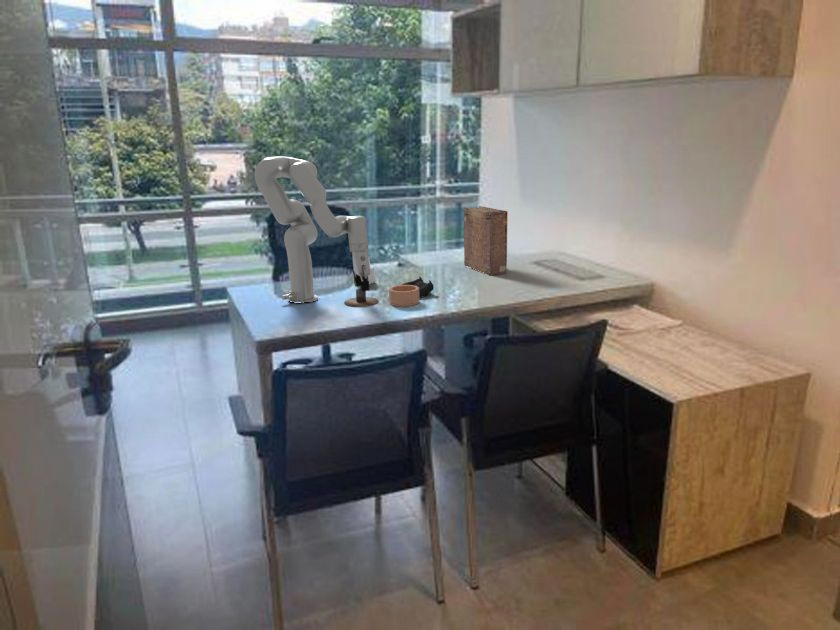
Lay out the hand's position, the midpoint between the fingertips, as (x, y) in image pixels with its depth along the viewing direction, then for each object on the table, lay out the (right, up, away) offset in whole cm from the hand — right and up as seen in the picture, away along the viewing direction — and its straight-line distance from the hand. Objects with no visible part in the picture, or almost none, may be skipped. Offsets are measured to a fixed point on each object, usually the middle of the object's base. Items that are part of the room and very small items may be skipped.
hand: (362, 288), depth 257 cm
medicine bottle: (-2, +3, +34) cm, 34 cm away
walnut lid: (-1, -6, +2) cm, 6 cm away
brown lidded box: (+56, +11, +55) cm, 79 cm away
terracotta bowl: (+17, -6, 0) cm, 18 cm away
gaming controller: (+23, -2, +14) cm, 27 cm away
